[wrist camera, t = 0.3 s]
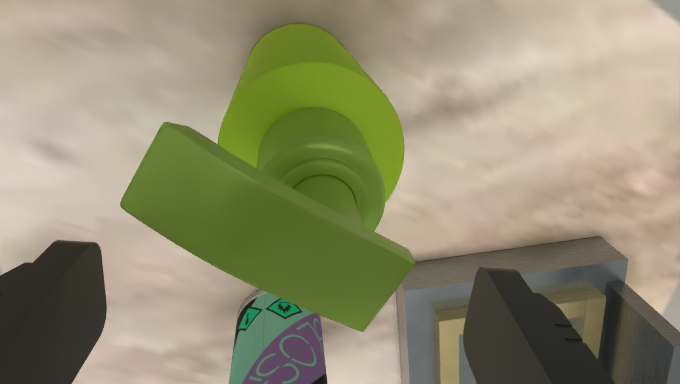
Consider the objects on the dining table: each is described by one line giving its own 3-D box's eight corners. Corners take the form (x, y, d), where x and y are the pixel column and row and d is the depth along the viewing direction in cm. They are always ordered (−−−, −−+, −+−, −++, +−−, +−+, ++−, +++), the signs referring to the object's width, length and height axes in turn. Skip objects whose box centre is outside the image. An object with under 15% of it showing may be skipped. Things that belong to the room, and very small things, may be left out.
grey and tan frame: (394, 265, 33) (431, 360, 25) (600, 236, 34) (701, 319, 26) (404, 422, 39) (437, 542, 31) (580, 394, 40) (659, 504, 31)
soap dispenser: (263, -11, 26) (216, 18, 8) (373, 62, 28) (544, 225, 10) (208, 86, 28) (62, 304, 9) (316, 149, 30) (371, 430, 11)
